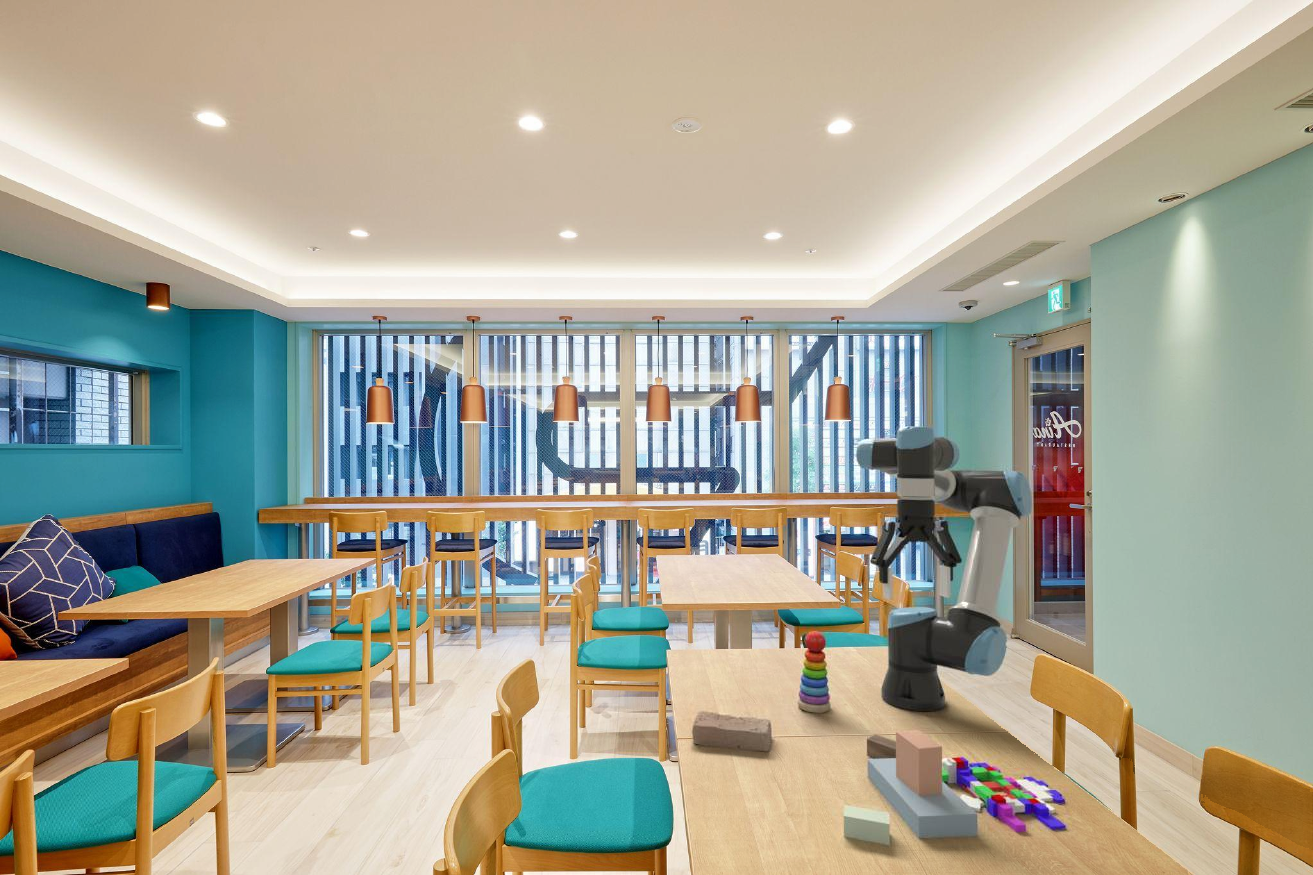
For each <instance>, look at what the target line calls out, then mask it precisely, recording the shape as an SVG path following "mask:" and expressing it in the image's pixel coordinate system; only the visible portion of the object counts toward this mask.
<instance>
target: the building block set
mask: <svg viewBox="0 0 1313 875" xmlns="http://www.w3.org/2000/svg"><path fill="white" fill-rule="evenodd" d="M942 781H943V782H946V783H947V784H957V785H958V786H960V787H961V788H962V789H963V790H965V791H966V792H967V793H968V794H969V795H971V796H969V795H967V794H961V795H960V796H959V797H960V798H961V799H962V800H963V801H964V802H965V803H966V804H967V805H968V806H970V807H971V808H972V809H973V810H974V811H975V812H978V813H981V807H985V808H986V813H988V814H989V815H990V816H992V817H993V818H998V819H1000V820H1001V821H1002V822H1003V823H1004V824H1005V825H1007V826H1008V827H1009V828H1010V829H1012V830H1013V831H1014V833H1023V832H1025V833H1026V832H1027V824H1025V822H1023V821H1022V820H1020V819H1019V818H1018V817H1017V816H1016V813H1021V814H1023V815H1029V814H1032V815H1034V816H1035V817H1037V818H1036V819H1037V820H1038V821H1039V822H1041V823H1042V825H1044V826H1045V827H1047V828H1048V829H1050V830H1051V831H1055V830H1057V831H1058V830H1066V829H1067V826H1066V824H1065V823H1064V822H1062V821H1060V819H1058V818H1056V816H1054V815H1053V814H1054V813H1056V808H1054V807H1053V806H1052V805H1050V804H1049V803H1048V802H1045V801H1049V802H1053V803H1055V804H1065V803H1066V799H1065V798H1064V797H1063V794H1062V793H1061V792H1059V791H1058V790H1056V789H1050V788H1049V784H1048V783H1046V782H1045V781H1043V780H1037V779H1035V777H1033V776H1023V779H1014V778H1012V777H1003V774H1002V772H1001V769H1000V768H998V767H997V766H995V765H994V766H991V765H989V764H988V763H986V762H970V763H969V760H968V759H967V758H965V757H964V756H959V757H946V758H945V757H944V758H942ZM982 781H983V782H982ZM1021 788H1022V789H1021ZM1020 789H1021V790H1023V791H1021V790H1020ZM1024 790H1025V791H1024ZM996 791H1002V792H1004V793H1005V794H1003V795H1001V794H997V793H996ZM973 797H974V798H973Z"/></svg>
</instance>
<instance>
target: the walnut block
mask: <svg viewBox="0 0 1313 875" xmlns="http://www.w3.org/2000/svg"><path fill="white" fill-rule="evenodd" d="M866 755H867V757H871V758H872V759H885V758H896V740H894V739H893V740H892V739H891V738H888V737H884V736H881V735H879V734H873V735H871V736H870V737H867V739H866Z"/></svg>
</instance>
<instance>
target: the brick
mask: <svg viewBox="0 0 1313 875" xmlns="http://www.w3.org/2000/svg"><path fill="white" fill-rule="evenodd" d="M691 733H692V734H691V735H692V741H693V744H697V745H700V746H705V747H715V748H723V749H725V748H726V749H735V750H746V751H753V752H754V751H755V752H756V751H760V752H767V753H768V752H769V751H770V750H771V743H772V741H773V740H772V739H773V737H772V722H771V720H770V719H768V718H758V717H750V716H749V717H747V716H744V717H743V716H740V717H737V716H733V715H730V714H720V713H717V712H711V711H705V710H699V711H698V712H697V714H696V716H695V718H694V722H693V725H692V732H691Z"/></svg>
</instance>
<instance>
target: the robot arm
mask: <svg viewBox="0 0 1313 875" xmlns="http://www.w3.org/2000/svg"><path fill="white" fill-rule="evenodd" d="M896 433H897V434H896V437H887V438H886V437H885V438H883V437H880V438H878V437H877V438H876V437H873V438H865V439H862V440H861V441H860V442H859V443H858V444H857V446H856V452H855V454H856V455H855V457H856V462H857V464H858V466H859V467H861V469H864V470H871V471H874V470H878V471H882V472H883V473H885V474H887V475H890V476H891V477H893V478H895V479H896V480H897V481H896V483H897V484H896V485H897V486H896V487H897V488H896V490H897V491H896V492H897V493H896V494H897V496H898V497H899V498H898V499H897V500H896V510H897V512H896V514H897V516H898V517H897V518H898V519H897V521H891V520H885V521H884V522H883V529H882V530H883V531H882V533H881V536H880V537H879V539H878V542H877V544H876V546H875V549H874V551H873V553H872V556H871V558H870V561H869V562H870V564H871V565H875V566H877V567H878V571H879V572H878V574H879V575H878V577H879V578H878V579H879V583H881V584H882V598H883V599H886V600H888V601H893V600H894V596H893V594H894V593H893V592H894V590H893V587H894V583H893V580H894V577H893V574H894V572H893V571H894V570H893V568H891V567H890V566H891V565H892V563H893V562H894V561H895V560H896V558H897V557H898V555H900V553H901V552H902V551H903V548H905V546H906V545H908V544H909V543H910V542H911V543H917V542H919V543H920V542H921V543H926V544H927V546H928V547H929V548H930V549H931V551H932V552H933V553H934V554H935V555H936V557H937V558H938V559H939V561H940V562H941V563H942V564H943V565H942V564H940V565H938V566H939V567H938V573H939V575H938V576H939V577H938V578H939V583H938V584H939V587H938V588H939V596H940V597H944V598H947V599H951V594H952V592H951V582H953V581H954V568H956V567H957V565H958V564H961V563H962V562H963V559H962V557H961V555H960V553H959V551H958V548H957V545H956V544H955V541H954V540H953V538H952V535H951V532H950V530H949V523H948V521H947V520H942V519H937V520H935V519H934V518H935V515H936V507H935V506H936V504H938V505H940V506H942V507H945V508H946V509H947V508H948V509H950V510H953V511H957V512H963V513H969V515H970V517H971V518H972V520H974V523H973V524H974V525H973V528H972V532H971V536H970V537H971V538H970V542H969V546H968V551H967V555H966V556H967V557H966V560H965V565H964V570H963V574H962V580H961V583H960V589H959V593H958V598H957V602H956V604H955V605H953V606H951V607H950V608H948V611H947V616H946V617H941V616H938V611H937V609H936V608H932V607H925V606H924V607H923V606H913V607H912V606H907V607H900V608H895V609H893V610H891V611H890V612H889V614H888V617H887V618H888V620H887V621H888V622H887V628H886V629H887V644H888V645H887V652H888V653H887V654H888V656H887V657H888V660H887V662H888V664H887V665H888V667H887V670H886V673H885V676H884V680H883V683H882V684H881V690H880V691H881V692H880V693H881V699H883V701H884V702H886V703H888V704H889V705H892V706H894V707H898V708H901V709H904V710H910V711H915V712H917V711H918V712H932V711H933V712H934V711H938V710H942V709H944V708H945V707H946V693H945V692H944V689H943V685H942V682H941V678H940V676H939V674H938V666H939V667H943V668H947V669H952V670H955V671H960V672H964V673H968V674H969V675H978V676H983V677H989V676H992V675H994V674H996V672H997V671H999V669H1000V668H1001V666H1002V665H1003V661H1004V659H1005V656H1006V652H1007V642H1008V640H1007V634H1006V631H1005V630H1004V629H1003V628H1001V625H1002V624H1001V621H1000V620H999V619H998V617H997V616H996V611H997V607H998V602H999V596H1000V591H1001V585H1002V580H1003V575H1004V569H1005V564H1006V560H1007V556H1008V555H1007V554H1008V550H1009V544H1010V537H1011V535H1012V529H1014V528H1017V527H1018V526H1019V525H1020V521H1021V517H1028V516H1030V514H1031V513H1032V509H1033V500H1032V491H1031V487H1030V484H1029V481H1028V478H1027V476H1026V475H1025V474H1024V473H1023V472H1021V471H1015V470H1014V471H1012V470H1007V469H1004V470H978V469H977V470H975V469H973V470H968V469H964V470H963V469H959V470H958V469H953V467H955V466H956V464H957V463H958V462H959V459H960V455H961V454H960V449H959V448H960V447H959V446H958V445H957V443H956V442H955V441H953V440H952V439H950V438H946V437H945V436H935V431H934V428H933V427H932V426H901V427H899V428H898V430H897V432H896ZM897 530H898V531H899V532H898V533H897V534H896V536H895V537H894V535H895V533H896V532H897ZM934 530H935V531H936V532H937V534H938V537H939V539H940V541H941V543H940V542H939V541H938V538H937V537H936V535H935V534H934V533H933V532H934ZM893 539H894V541H893ZM892 541H893V542H892ZM941 544H942V545H941Z"/></svg>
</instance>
